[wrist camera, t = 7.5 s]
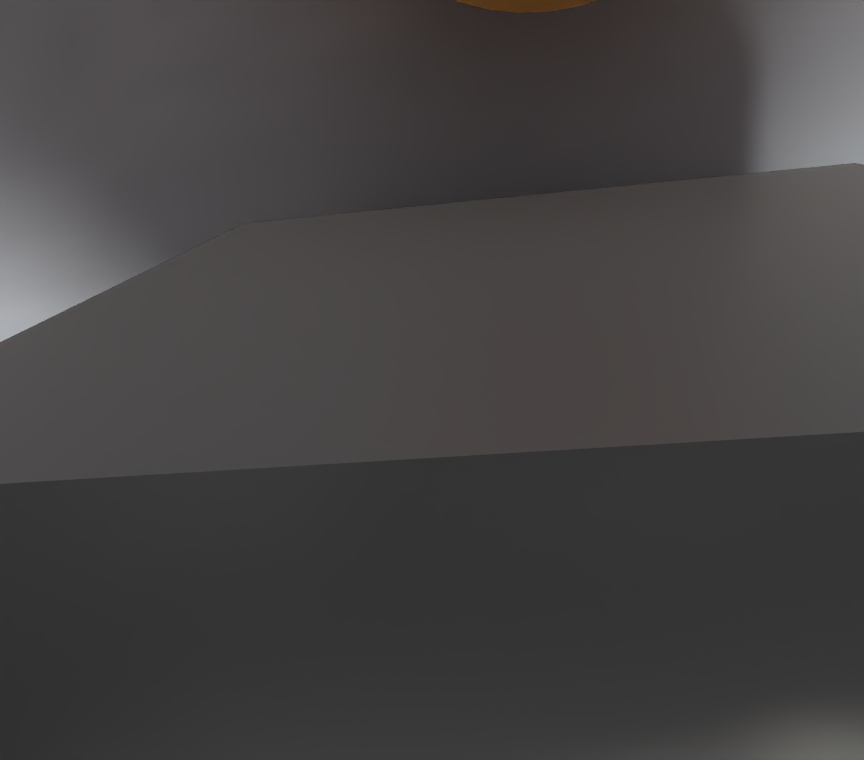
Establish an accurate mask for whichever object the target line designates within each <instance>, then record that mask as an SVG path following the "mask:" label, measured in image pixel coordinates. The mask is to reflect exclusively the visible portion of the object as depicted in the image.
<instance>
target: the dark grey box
mask: <svg viewBox="0 0 864 760" xmlns="http://www.w3.org/2000/svg"><path fill="white" fill-rule="evenodd" d="M0 760H864V165H863V164H856V163H852V164H841V165H831V166H821V167H811V168H801V169H790V170H780V171H770V172H760V173H750V174H739V175H729V176H719V177H709V178H699V179H688V180H678V181H668V182H658V183H648V184H637V185H627V186H617V187H607V188H597V189H586V190H576V191H566V192H556V193H546V194H535V195H525V196H515V197H505V198H495V199H484V200H474V201H464V202H454V203H444V204H433V205H423V206H413V207H403V208H393V209H382V210H372V211H362V212H352V213H341V214H331V215H321V216H311V217H301V218H290V219H280V220H270V221H260V222H250V223H244V224H242V225H240V226H237V227H235V228H233V229H231V230H229V231H227V232H225V233H223V234H221V235H219V236H217V237H215V238H213V239H211V240H209V241H207V242H205V243H203V244H201V245H199V246H196V247H194V248H192V249H190V250H188V251H186V252H184V253H182V254H180V255H178V256H176V257H174V258H172V259H170V260H168V261H166V262H164V263H162V264H160V265H158V266H156V267H153V268H151V269H149V270H147V271H145V272H143V273H141V274H139V275H137V276H135V277H133V278H131V279H129V280H127V281H125V282H123V283H121V284H119V285H117V286H115V287H112V288H110V289H108V290H106V291H104V292H102V293H100V294H98V295H96V296H94V297H92V298H90V299H88V300H86V301H84V302H82V303H80V304H78V305H76V306H74V307H71V308H69V309H67V310H65V311H63V312H61V313H59V314H57V315H55V316H53V317H51V318H49V319H47V320H45V321H43V322H41V323H39V324H37V325H35V326H33V327H30V328H28V329H26V330H24V331H22V332H20V333H18V334H16V335H14V336H12V337H10V338H8V339H6V340H4V341H2V342H0Z"/></svg>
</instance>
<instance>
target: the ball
mask: <svg viewBox="0 0 864 760" xmlns="http://www.w3.org/2000/svg"><path fill="white" fill-rule="evenodd" d="M456 1H458V2H461V3H465V4H469V5H472V6H476V7H480V8H484V9H487V10H495V11H504V12H513V13H532V12H551V11H556V10H561V9H567V8H572V7H578V6H581V5H584V4H587V3H590V2H593V1H596V0H456Z"/></svg>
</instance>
